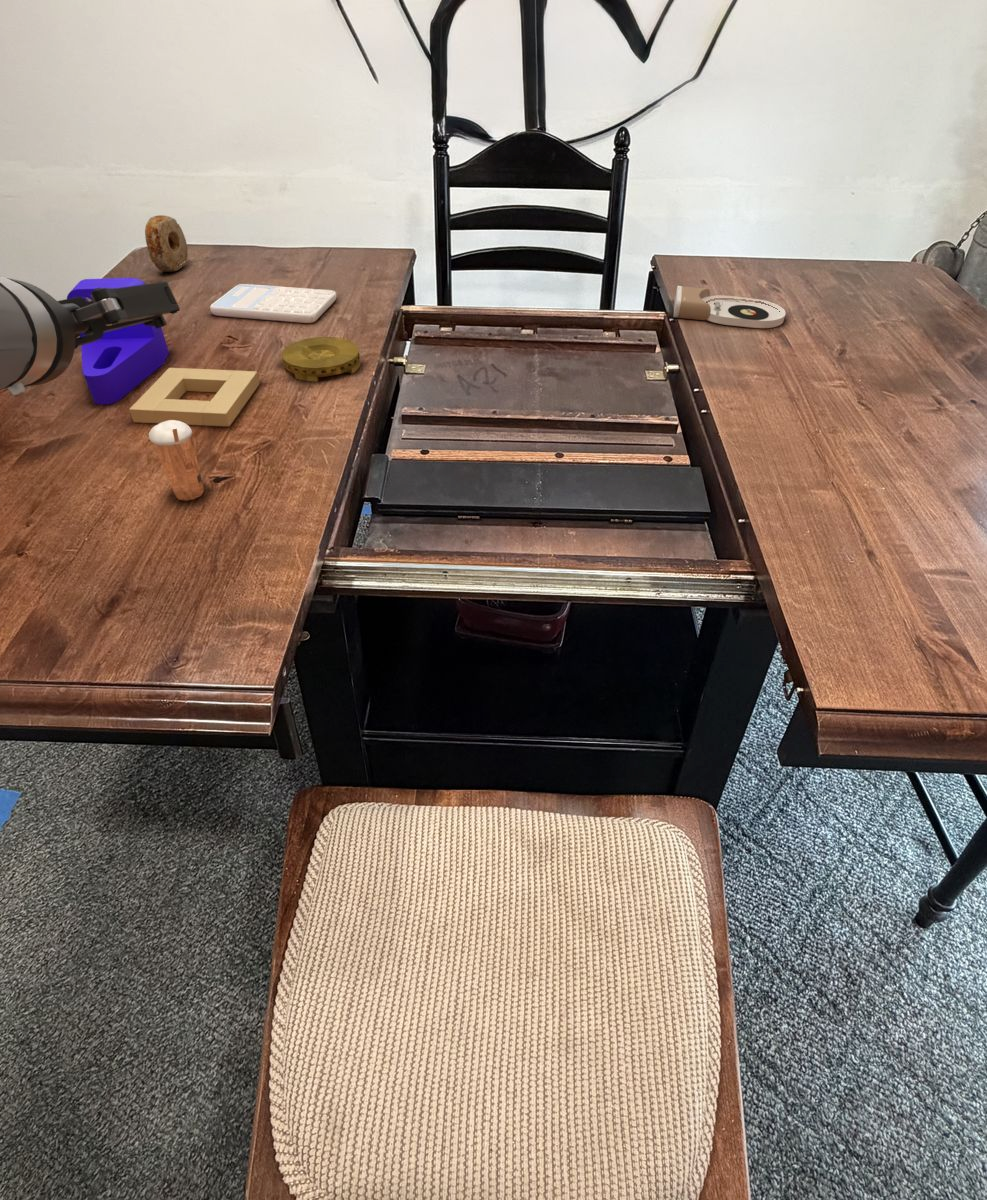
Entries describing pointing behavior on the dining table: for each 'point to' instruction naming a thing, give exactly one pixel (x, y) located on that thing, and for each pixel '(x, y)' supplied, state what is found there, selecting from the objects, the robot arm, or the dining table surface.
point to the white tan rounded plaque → (726, 309)
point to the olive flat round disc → (321, 357)
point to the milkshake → (178, 458)
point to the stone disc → (166, 243)
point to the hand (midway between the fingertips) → (90, 335)
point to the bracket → (119, 350)
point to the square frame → (219, 411)
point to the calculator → (274, 303)
